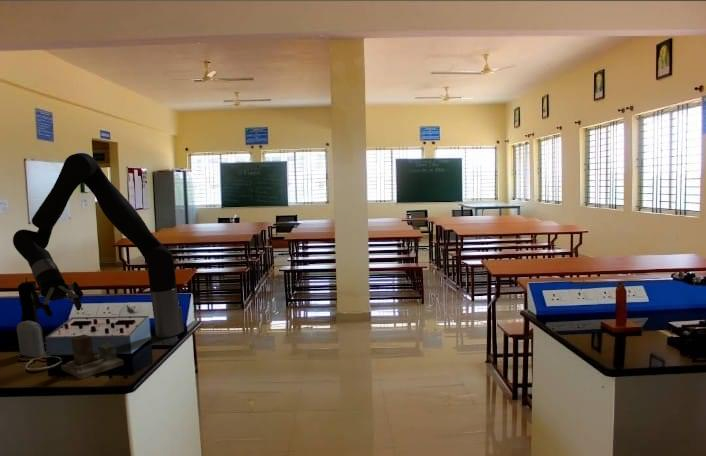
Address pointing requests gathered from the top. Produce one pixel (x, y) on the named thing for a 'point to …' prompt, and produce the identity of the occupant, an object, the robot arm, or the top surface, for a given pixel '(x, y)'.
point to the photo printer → (30, 339)
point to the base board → (95, 363)
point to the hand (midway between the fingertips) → (65, 312)
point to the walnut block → (82, 350)
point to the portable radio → (28, 302)
